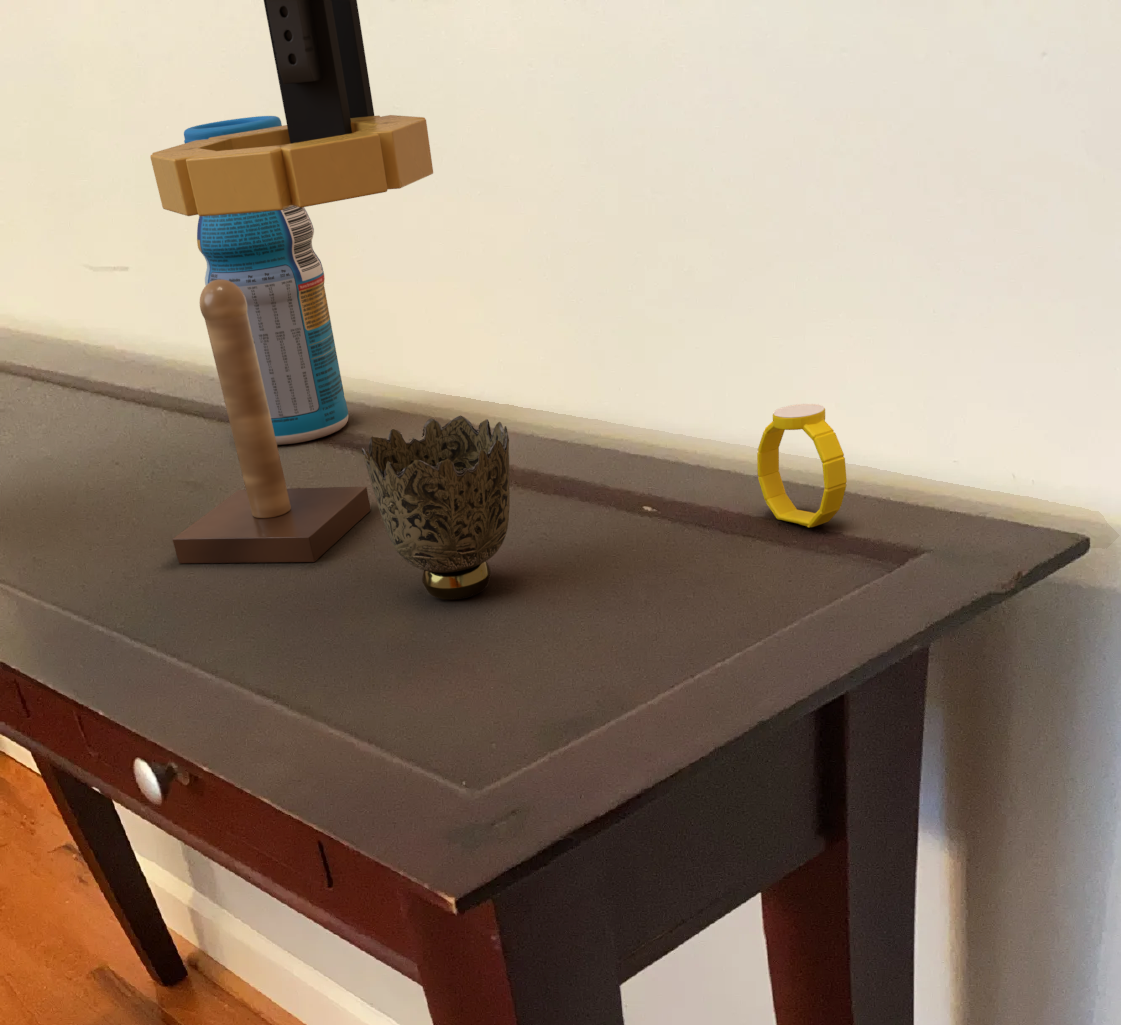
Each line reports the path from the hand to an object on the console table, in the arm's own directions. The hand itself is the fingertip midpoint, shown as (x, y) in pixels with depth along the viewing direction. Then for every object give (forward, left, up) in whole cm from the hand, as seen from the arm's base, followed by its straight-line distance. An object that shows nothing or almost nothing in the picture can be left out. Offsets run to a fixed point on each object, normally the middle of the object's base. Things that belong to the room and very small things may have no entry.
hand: (339, 164), depth 61 cm
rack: (-13, +10, -20) cm, 26 cm away
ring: (0, -5, 0) cm, 5 cm away
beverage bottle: (-22, +33, -20) cm, 44 cm away
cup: (+2, +1, -20) cm, 20 cm away
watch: (+19, +11, -20) cm, 30 cm away
